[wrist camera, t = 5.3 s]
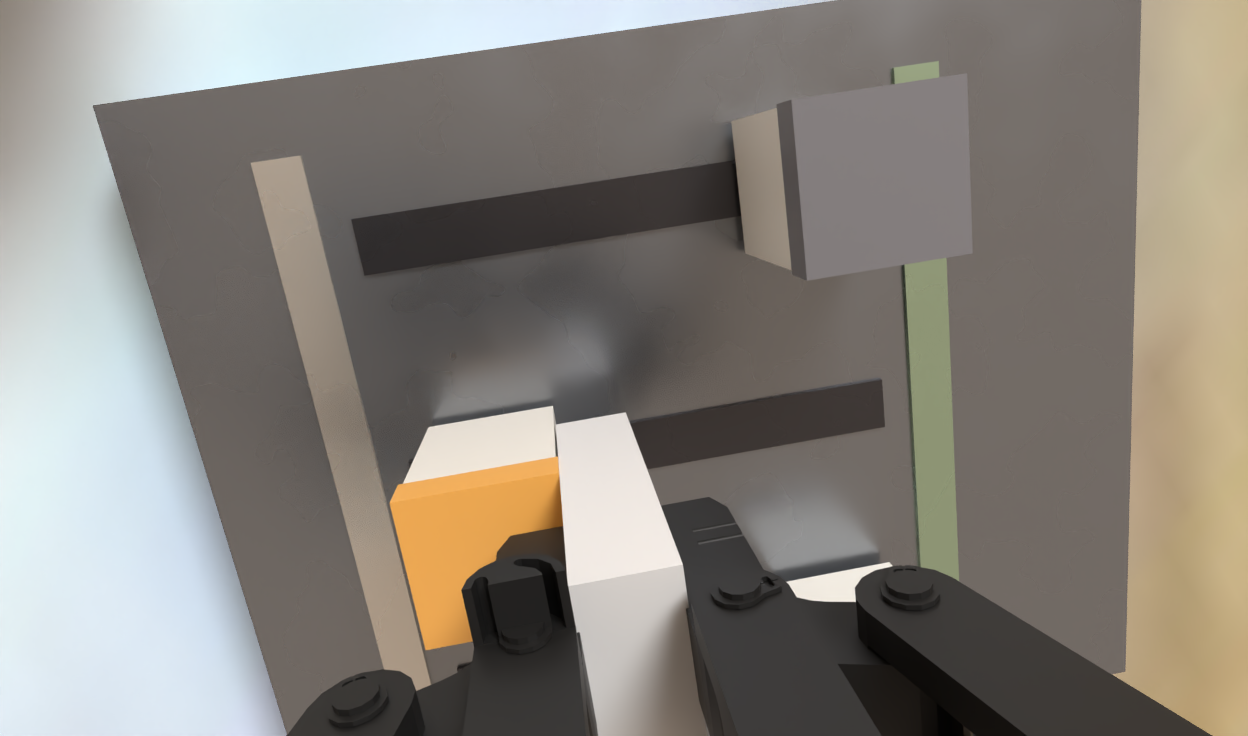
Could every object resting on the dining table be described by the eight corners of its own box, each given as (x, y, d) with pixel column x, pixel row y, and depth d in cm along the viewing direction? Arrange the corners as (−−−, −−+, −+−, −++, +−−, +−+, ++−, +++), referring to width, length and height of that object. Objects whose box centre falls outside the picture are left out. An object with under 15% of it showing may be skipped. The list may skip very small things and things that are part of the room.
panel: (338, 777, 22) (317, 839, 20) (143, 113, 17) (89, 105, 15) (1076, 630, 23) (1127, 673, 21) (1079, -20, 18) (1145, -45, 16)
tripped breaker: (452, 542, 18) (425, 650, 14) (425, 425, 17) (389, 503, 13) (575, 520, 18) (585, 620, 14) (554, 403, 17) (558, 472, 13)
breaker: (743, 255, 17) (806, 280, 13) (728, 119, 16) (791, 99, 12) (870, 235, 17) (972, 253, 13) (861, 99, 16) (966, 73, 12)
